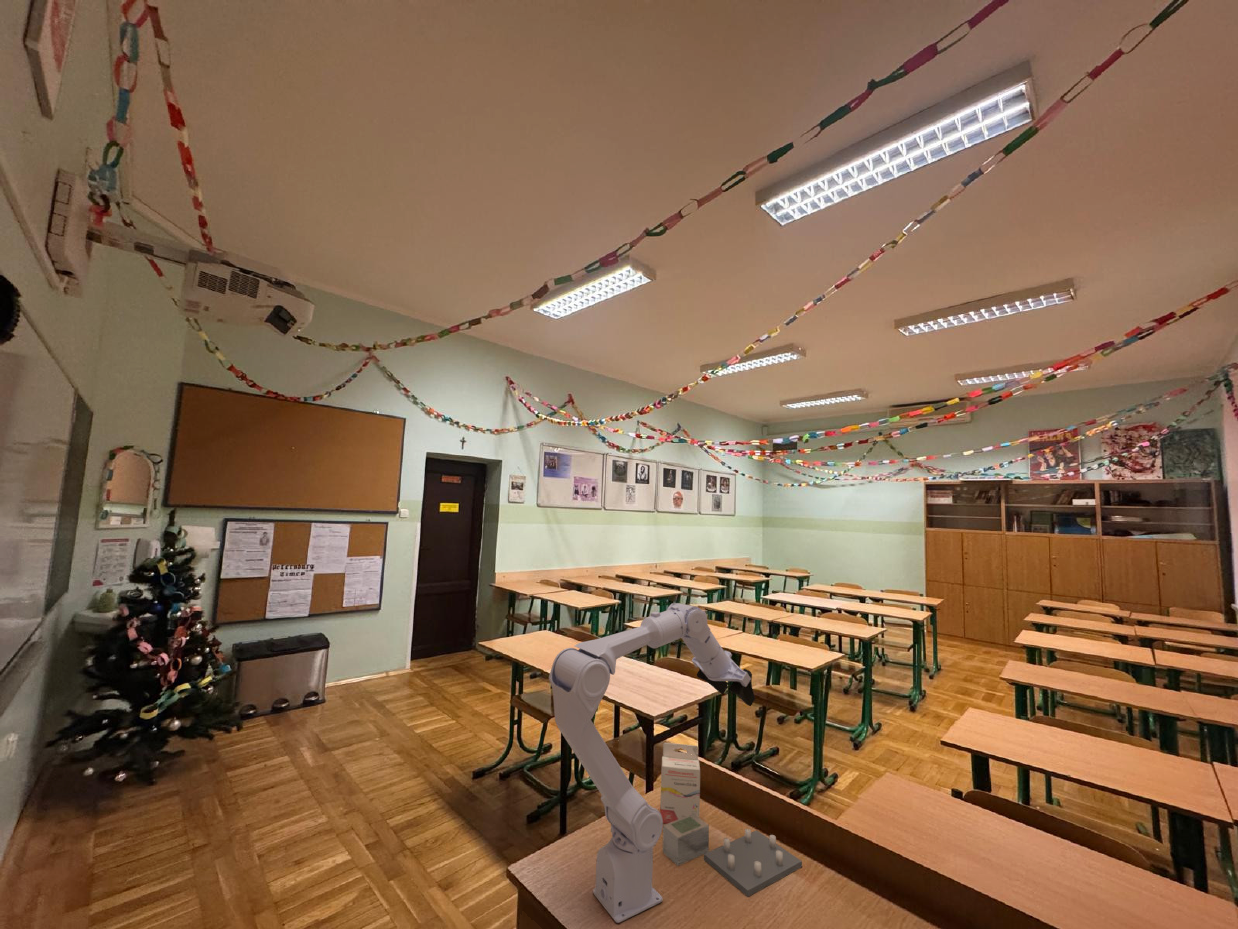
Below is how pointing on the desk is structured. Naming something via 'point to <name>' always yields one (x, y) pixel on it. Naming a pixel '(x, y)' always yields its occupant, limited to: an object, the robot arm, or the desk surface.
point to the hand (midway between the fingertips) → (737, 695)
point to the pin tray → (752, 861)
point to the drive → (685, 839)
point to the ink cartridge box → (679, 782)
